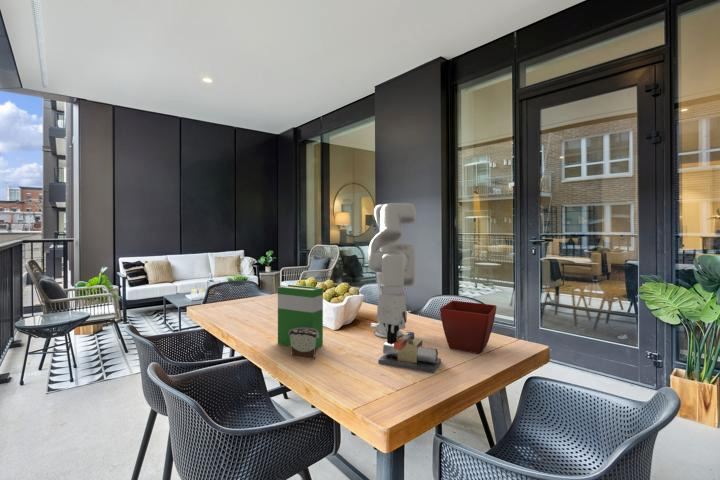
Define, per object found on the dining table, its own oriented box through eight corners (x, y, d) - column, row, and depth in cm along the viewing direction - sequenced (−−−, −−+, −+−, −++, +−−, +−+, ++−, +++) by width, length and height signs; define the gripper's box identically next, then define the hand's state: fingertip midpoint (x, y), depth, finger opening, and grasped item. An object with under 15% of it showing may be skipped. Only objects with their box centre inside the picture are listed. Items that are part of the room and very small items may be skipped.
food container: (324, 354, 139) (324, 328, 138) (317, 359, 133) (317, 333, 132) (296, 350, 143) (296, 325, 142) (288, 355, 137) (288, 329, 136)
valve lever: (407, 337, 132) (407, 331, 132) (415, 338, 131) (415, 332, 130) (393, 349, 118) (393, 342, 118) (401, 350, 117) (401, 343, 117)
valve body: (378, 363, 129) (378, 339, 129) (389, 354, 139) (389, 331, 139) (433, 373, 121) (433, 347, 121) (441, 362, 131) (441, 338, 130)
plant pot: (488, 358, 135) (489, 314, 135) (438, 350, 145) (439, 308, 144) (496, 344, 152) (497, 305, 151) (451, 337, 161) (451, 300, 161)
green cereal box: (277, 343, 152) (277, 286, 151) (288, 338, 158) (288, 284, 158) (312, 350, 144) (312, 290, 143) (322, 344, 150) (322, 287, 150)
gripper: (369, 288, 126) (368, 340, 126) (402, 294, 115) (401, 351, 115) (383, 286, 131) (383, 336, 131) (416, 291, 120) (416, 346, 121)
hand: (391, 343), depth 123 cm, fingers closed
